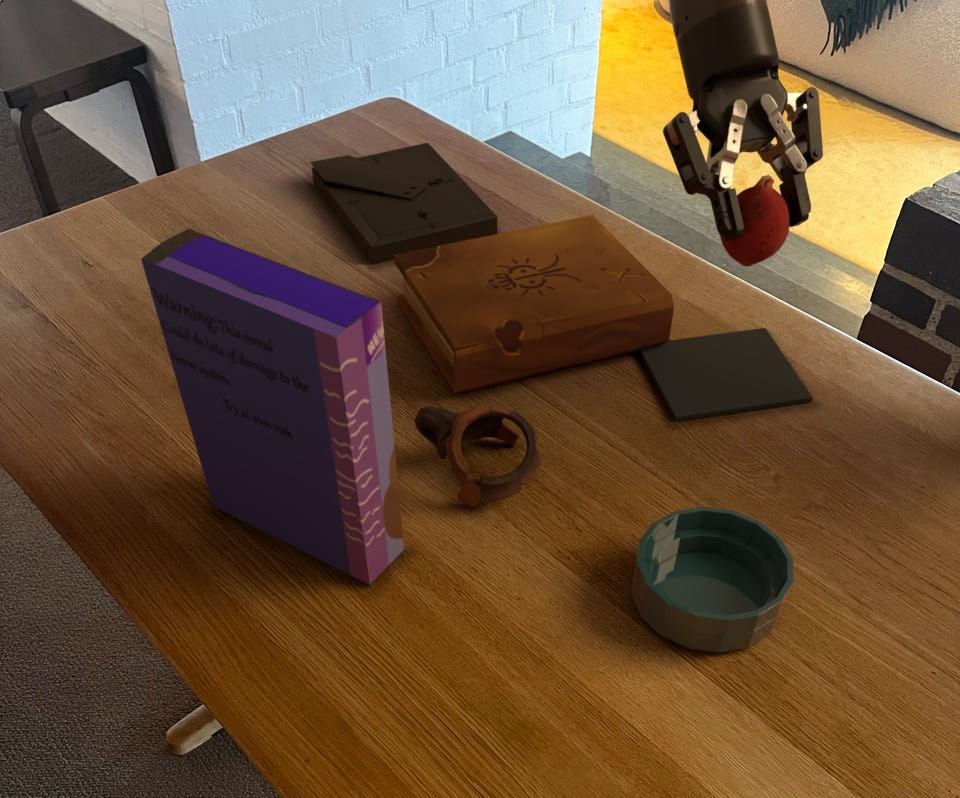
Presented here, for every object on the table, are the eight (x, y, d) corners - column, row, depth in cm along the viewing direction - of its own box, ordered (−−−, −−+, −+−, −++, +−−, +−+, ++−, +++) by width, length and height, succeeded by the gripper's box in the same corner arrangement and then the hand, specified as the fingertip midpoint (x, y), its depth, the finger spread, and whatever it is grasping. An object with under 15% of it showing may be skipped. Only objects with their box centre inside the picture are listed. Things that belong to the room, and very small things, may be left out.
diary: (458, 400, 96) (455, 348, 92) (397, 305, 108) (393, 255, 103) (668, 347, 101) (675, 296, 97) (589, 262, 113) (592, 212, 109)
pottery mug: (547, 447, 93) (561, 415, 85) (510, 537, 92) (521, 513, 84) (429, 398, 93) (432, 361, 85) (390, 487, 92) (389, 458, 84)
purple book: (404, 551, 84) (380, 299, 66) (370, 586, 82) (335, 334, 63) (249, 476, 90) (187, 225, 72) (213, 507, 88) (139, 255, 69)
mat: (764, 332, 104) (765, 327, 104) (811, 402, 97) (813, 397, 96) (636, 349, 102) (637, 344, 102) (674, 421, 95) (675, 416, 95)
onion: (764, 290, 86) (786, 201, 80) (702, 271, 88) (719, 183, 82) (788, 259, 89) (811, 171, 83) (728, 241, 91) (746, 154, 85)
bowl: (747, 536, 85) (758, 497, 82) (804, 642, 78) (819, 604, 74) (613, 557, 84) (618, 519, 80) (658, 668, 76) (666, 631, 73)
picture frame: (313, 184, 125) (372, 264, 113) (310, 161, 123) (370, 240, 111) (428, 158, 129) (497, 233, 117) (427, 136, 127) (497, 210, 115)
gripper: (664, 13, 77) (715, 233, 79) (822, -14, 80) (866, 199, 82) (625, 60, 84) (673, 261, 86) (771, 34, 87) (813, 228, 90)
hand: (767, 230), depth 84 cm, fingers closed on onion, 5 cm apart
